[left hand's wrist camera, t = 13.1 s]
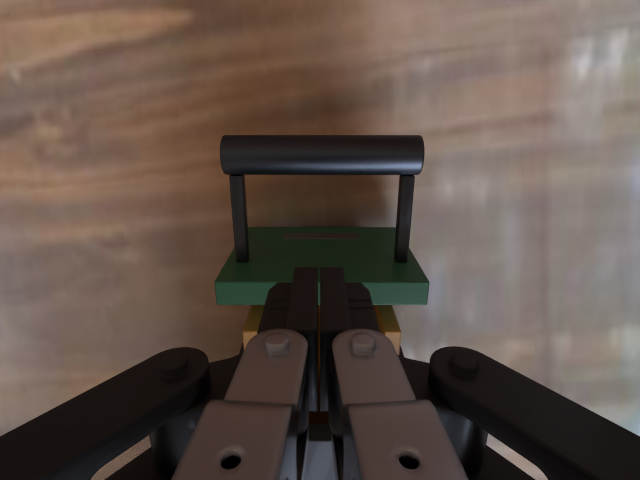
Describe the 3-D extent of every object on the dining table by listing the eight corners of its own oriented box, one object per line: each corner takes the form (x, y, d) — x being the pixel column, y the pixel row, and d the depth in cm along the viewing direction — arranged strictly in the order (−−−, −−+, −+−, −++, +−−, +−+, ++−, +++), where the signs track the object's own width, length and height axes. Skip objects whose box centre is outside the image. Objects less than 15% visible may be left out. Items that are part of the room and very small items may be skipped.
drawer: (238, 126, 22) (199, 140, 15) (404, 127, 23) (445, 140, 15) (261, 456, 31) (243, 566, 24) (380, 457, 31) (399, 566, 24)
